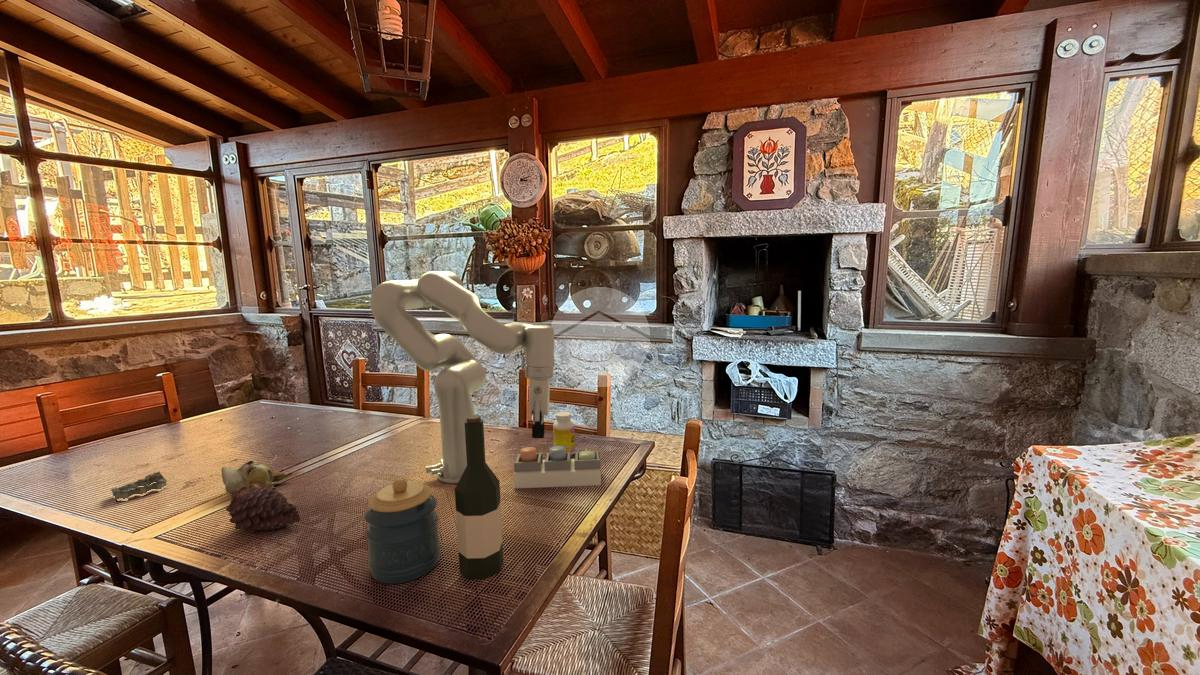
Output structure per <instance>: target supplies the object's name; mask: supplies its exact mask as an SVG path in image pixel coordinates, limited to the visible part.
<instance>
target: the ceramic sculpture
mask: <svg viewBox="0 0 1200 675" xmlns="http://www.w3.org/2000/svg"><path fill="white" fill-rule="evenodd" d="M220 470H221V478H222V483H223V485H224V486H225V491H226V493H227V494H228V495H232V494H231V492H233V491H238V490H239V489H241V488H242V487H247V488H248V489H247V490H250V488H251V487H252V486H256V487H258V488H262V487H263V488H267V489H268V488H271V489H272V490H277V487H276V486H274V484H272V483H278V482H280V481H283V480H285V479H288V478H289V477H291V476H292V475H293V472H289V473H284V472H280V471H277V470H273V468H272V467H271V466H270V465H269V464H266V463H262V462H260V463H255V462H254V461H253V460H249V461H247V462H246V463H243V464H242V465H241V466H240V467H234V466H233V467H225V466H223V467H221V469H220Z"/></svg>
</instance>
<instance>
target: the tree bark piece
mask: <svg viewBox="0 0 1200 675" xmlns="http://www.w3.org/2000/svg"><path fill="white" fill-rule="evenodd" d="M153 482H156V483H153ZM151 483H153V484H151ZM150 484H151V485H150ZM166 485H167V479H166V478H165V477H164V476H163V474H162V473H161V471H156V472H153V473H150V474H148V475H146V476H145V477H144V478H141V479H140V478H139V479H137V480H136V481H133V482H129V483H127V484H124V485H121V486H118V487H112V488H110V490H111V492H112V497H113V496H115V498H116V499H119V498H123V499H125V498H128V497H129V496H131V495H133V494H143V493H146V492H147V491H149V490H151V489H161V488H162V487H164V486H166ZM138 486H144V487H138ZM116 499H115V500H116Z"/></svg>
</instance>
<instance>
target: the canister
mask: <svg viewBox="0 0 1200 675" xmlns="http://www.w3.org/2000/svg"><path fill="white" fill-rule="evenodd" d="M432 493H433V490H432V488H431V487H430V486H429V485H426V484H425V483H424V484H423V483H422V482H419V481H414V480H412V481H410V480H406V479H404V478H403V477H401V478H400V477H399V478H397V479H395V480H394V481H393V483H392V484H387V485H386V486H384V487H382V488H381V489H379V490H378V491H377V492H376V493H374V494H372V496H371V497H369V500H368V508H367V510H366V511H365V512H364V520H365V521H366V523H367V524H368V526H367V528H366V530H365V535H366V537H367V548H368V569H369V572H370V573H371V576H372V578H373V579H374V580H375V581H377V582H379V583H383V584H389V585H391V584H392V585H393V584H402V583H407V582H411V581H413V580H415V579H418V578H420V577H423V576H424V575H426V574H428V573H429V572H430V571H431V570H433V569H434V568H435V567H436V566H437V564H438V563H439V560H440V554H441V544H440V539H439V538H440V537H439V526H438V525H439V524H438V521H439V516H438V514H437V512H436V508H437V504H438V500H437V498H436V497H435V496H434V495H433V494H432Z"/></svg>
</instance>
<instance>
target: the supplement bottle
mask: <svg viewBox="0 0 1200 675" xmlns="http://www.w3.org/2000/svg"><path fill="white" fill-rule="evenodd" d="M555 419H556V421H554V422H553V425H552V427H553V430H552V431H553V434H552V435H553V447H554V446H563V447H565V448H566V452H571V456H572V455H575V452H576V444H575V443H576V442H575V441H576V440H575V439H576V438H575V437H576V436H575V423H574V422H573V420H571V419H572V413H571V412H567V411H560V412H556V414H555Z"/></svg>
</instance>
